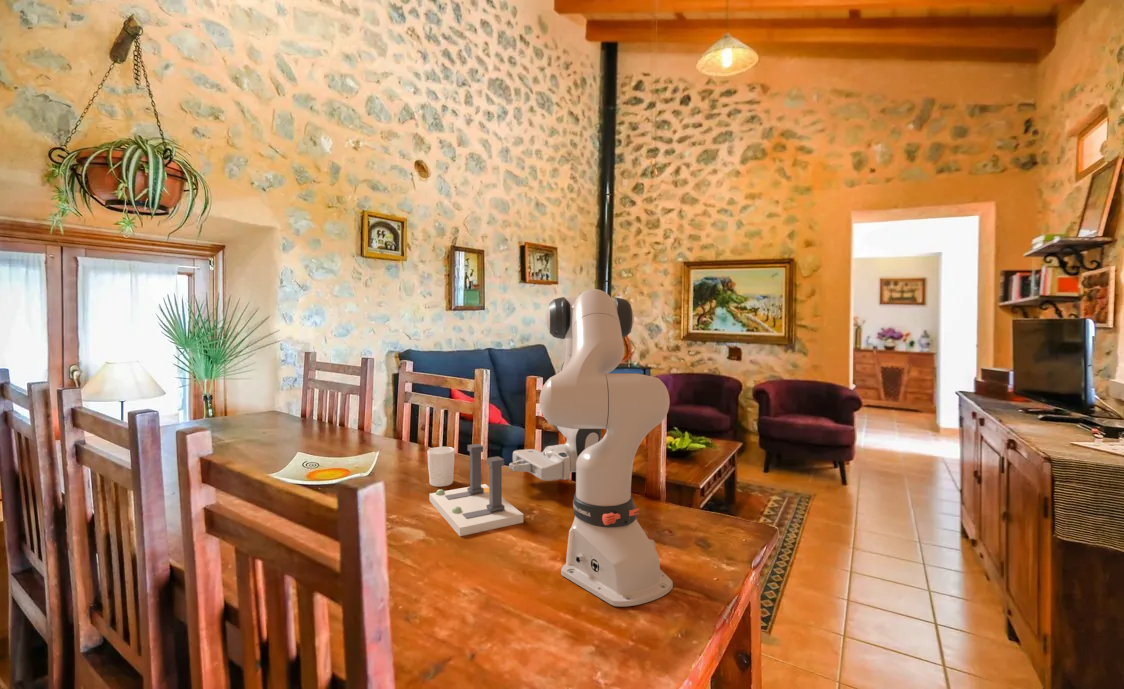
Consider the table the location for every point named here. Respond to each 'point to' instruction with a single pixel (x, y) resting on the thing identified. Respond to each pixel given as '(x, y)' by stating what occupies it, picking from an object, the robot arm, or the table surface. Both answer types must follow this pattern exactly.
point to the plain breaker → (495, 483)
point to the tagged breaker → (475, 468)
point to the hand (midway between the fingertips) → (511, 467)
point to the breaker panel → (472, 511)
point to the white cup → (441, 466)
